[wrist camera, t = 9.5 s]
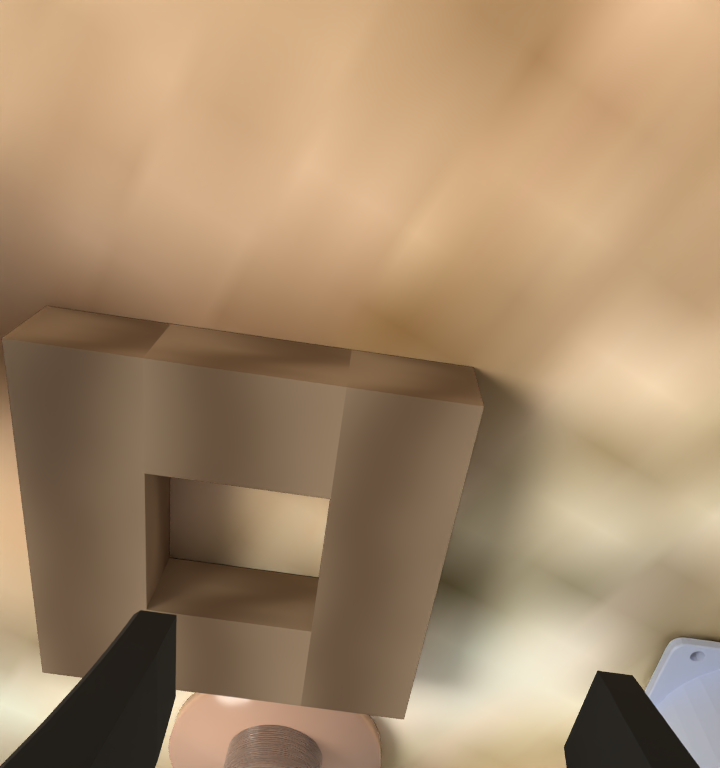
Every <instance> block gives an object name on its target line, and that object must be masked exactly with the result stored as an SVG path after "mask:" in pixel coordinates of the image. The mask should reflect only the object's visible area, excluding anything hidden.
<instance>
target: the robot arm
mask: <svg viewBox="0 0 720 768" xmlns="http://www.w3.org/2000/svg"><path fill="white" fill-rule="evenodd" d="M176 623H177V615H174V614H166V613H158V612H151V611H143V610H140V611H138V612H137V613H135V614H134V615H133V616H132V617H131V619H130V620H129V621H128V623H127V624H126V625H125V627H124V628H123V629H122V631H121V632H120V633H119V634H118V636H117V637H116V638H115V640H114V641H113V642H112V643H111V645H110V646H109V647H108V648H107V650H106V651H105V652H104V653H103V654H102V656H101V657H100V658H99V659H98V660H97V662H96V663H95V664H94V665H93V666H92V667H91V669H90V670H89V671H88V672H87V673H86V675H85V676H84V677H83V678H82V679H81V680H80V682H79V683H78V684H77V685H76V686H75V687H74V688H73V689H72V691H71V692H70V693H69V694H68V695H67V696H66V697H65V698H64V699H63V701H62V702H61V703H60V704H59V705H58V706H57V707H56V708H55V709H54V710H53V712H52V713H51V714H50V715H49V716H48V717H47V718H46V719H45V720H44V722H43V723H42V724H41V725H40V726H39V727H38V728H37V729H36V730H35V731H34V732H33V733H32V734H31V735H30V736H29V737H28V738H27V739H26V740H25V741H24V742H23V743H22V744H21V745H20V746H19V747H18V748H17V749H16V750H15V751H14V752H13V754H12V755H11V756H10V757H9V758H8V759H7V760H6V761H5V762H4V763H3V764H2V765H1V766H0V768H155V766H156V763H157V761H158V757H159V754H160V750H161V747H162V743H163V740H164V736H165V733H166V729H167V726H168V722H169V718H170V715H171V711H172V708H173V704H174V700H175V697H176ZM564 751H565V758H566V766H567V768H720V642H715V641H707V640H700V639H692V638H685V637H679V638H676V639H673V640H672V641H670V643H669V644H668V645H667V647H666V649H665V651H664V653H663V655H662V657H661V659H660V661H659V663H658V665H657V667H656V669H655V671H654V673H653V675H652V677H651V679H650V681H649V683H648V685H647V687H646V689H645V691H644V690H643V689H642V687H641V686H640V685H639V683H638V682H637V681H636V679H635V678H634V677H633V675H625V674H618V673H610V672H602V671H597V673H596V675H595V678H594V680H593V682H592V684H591V687H590V689H589V691H588V694H587V696H586V698H585V700H584V703H583V705H582V707H581V710H580V712H579V714H578V716H577V719H576V721H575V723H574V725H573V728H572V730H571V732H570V735H569V737H568V739H567V741H566V744H565V746H564Z"/></svg>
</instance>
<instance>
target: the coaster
mask: <svg viewBox="0 0 720 768" xmlns="http://www.w3.org/2000/svg"><path fill="white" fill-rule="evenodd" d="M259 725H280V726H285V727H289V728H293V729H296V730H298V731H300V732H302V733H304V734H306V735H307V736H309V737H310V738H311V739H313V740H314V741H315V742H316V744H317V745H318V746H319V748H320V750H321V753H322V768H381V740H380V736H379V732H378V729H377V727H376V725H375V723H374V721H373V720H372V718H371V717H370V716H369V715H366V714H358V713H350V712H343V711H335V710H327V709H320V708H312V707H304V706H297V705H289V704H281V703H274V702H266V701H258V700H250V699H243V698H235V697H227V696H220V695H212V694H204V693H197V692H195V693H194V694H193V695H192V696H190V697H189V698H188V699H187V701H186V702H185V703H184V704H183V705H182V707H181V709H180V711H179V712H178V715H177V718H176V721H175V724H174V727H173V730H172V733H171V736H170V740H169V757H170V760H171V764H172V766H173V768H223V767H224V763H225V759H226V754H227V750H228V746H229V743H230V742H231V740H232V739H233V738H234V736H236V735H237V734H238V733H240V732H241V731H243V730H245V729H247V728H251V727H254V726H259Z"/></svg>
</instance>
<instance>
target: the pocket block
mask: <svg viewBox="0 0 720 768" xmlns="http://www.w3.org/2000/svg"><path fill="white" fill-rule="evenodd" d="M2 343H3V352H4V360H5V368H6V376H7V384H8V393H9V401H10V409H11V417H12V425H13V434H14V442H15V450H16V458H17V467H18V475H19V483H20V491H21V499H22V508H23V516H24V524H25V532H26V540H27V549H28V557H29V565H30V573H31V582H32V590H33V598H34V606H35V614H36V623H37V631H38V639H39V647H40V656H41V664H42V672H43V673H51V674H58V675H66V676H74V677H81V678H83V677H84V676H85V675H86V673H87V672H88V671H89V670H90V669H91V667H92V666H93V665H94V664H95V663H96V662H97V660H98V659H99V658H100V657H101V656H102V654H103V653H104V652H105V651H106V650H107V648H108V647H109V646H110V645H111V643H112V642H113V641H114V640H115V638H116V637H117V636H118V634H119V633H120V632H121V631H122V629H123V628H124V627H125V625H126V624H127V623H128V621H129V620H130V619H131V617H132V616H133V615H134V614H135V613H137V612H138V611H140V610H143V611H151V612H158V613H166V614H174V615H177V623H176V690H181V691H189V692H197V693H204V694H212V695H220V696H227V697H235V698H243V699H250V700H258V701H266V702H274V703H281V704H289V705H297V706H304V707H312V708H320V709H327V710H335V711H343V712H350V713H358V714H366V715H373V716H381V717H389V718H396V719H404V717H405V713H406V709H407V705H408V701H409V698H410V694H411V690H412V686H413V682H414V678H415V674H416V670H417V666H418V662H419V658H420V655H421V651H422V647H423V643H424V639H425V635H426V631H427V627H428V623H429V619H430V616H431V612H432V608H433V604H434V600H435V596H436V592H437V588H438V584H439V580H440V576H441V573H442V569H443V565H444V561H445V557H446V553H447V549H448V545H449V541H450V537H451V534H452V530H453V526H454V522H455V518H456V514H457V510H458V506H459V502H460V498H461V494H462V491H463V487H464V483H465V479H466V475H467V471H468V467H469V463H470V459H471V455H472V452H473V448H474V444H475V440H476V436H477V432H478V428H479V424H480V420H481V416H482V412H483V409H484V405H483V401H482V397H481V394H480V390H479V386H478V382H477V378H476V375H475V371H474V367H468V366H461V365H454V364H447V363H440V362H433V361H426V360H419V359H412V358H405V357H398V356H391V355H384V354H377V353H370V352H363V351H356V350H349V349H342V348H335V347H328V346H322V345H315V344H308V343H301V342H294V341H287V340H280V339H273V338H266V337H259V336H252V335H245V334H238V333H231V332H224V331H217V330H210V329H203V328H196V327H189V326H182V325H175V324H168V323H161V322H154V321H147V320H140V319H133V318H126V317H119V316H112V315H105V314H98V313H91V312H85V311H78V310H71V309H64V308H57V307H50V306H46V307H44V308H43V309H42V310H40V311H39V312H37V313H36V314H35V315H33V316H32V317H30V318H29V319H28V320H26V321H25V322H24V323H22V324H21V325H19V326H18V327H17V328H15V329H14V330H13V331H11V332H10V333H8V334H7V335H6V336H4V337H3V338H2ZM170 477H174V478H181V479H188V480H196V481H203V482H210V483H217V484H225V485H232V486H239V487H246V488H254V489H261V490H268V491H275V492H283V493H290V494H297V495H304V496H312V497H319V498H326V499H330V504H329V511H328V518H327V525H326V531H325V538H324V545H323V552H322V559H321V566H320V573H319V578H315V577H307V576H300V575H292V574H285V573H278V572H270V571H263V570H255V569H248V568H241V567H233V566H226V565H218V564H211V563H204V562H196V561H189V560H181V559H174V558H170Z"/></svg>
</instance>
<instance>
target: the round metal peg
mask: <svg viewBox="0 0 720 768" xmlns="http://www.w3.org/2000/svg"><path fill="white" fill-rule="evenodd" d="M223 768H322V753H321V750H320V748H319V746H318V745H317V744H316V742H315V741H314V740H313V739H311V738H310V737H309V736H307V735H306V734H304V733H302V732H300V731H298V730H296V729H293V728H289V727H285V726H280V725H259V726H254V727H251V728H247V729H245V730H243V731H241V732H240V733H238V734H237V735H236V736H234V738H233V739H232V740H231V742H230V743H229V746H228V750H227V754H226V759H225V763H224V767H223Z"/></svg>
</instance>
